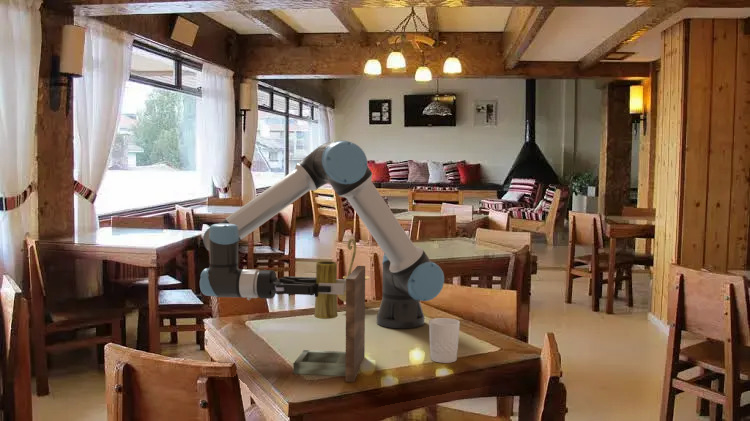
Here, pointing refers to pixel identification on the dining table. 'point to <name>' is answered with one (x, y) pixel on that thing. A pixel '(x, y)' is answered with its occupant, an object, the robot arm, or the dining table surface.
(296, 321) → the dining table surface
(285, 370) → the dining table surface
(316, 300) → the vase
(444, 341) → the white cup
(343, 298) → the wall sconce
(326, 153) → the robot arm
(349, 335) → the board
